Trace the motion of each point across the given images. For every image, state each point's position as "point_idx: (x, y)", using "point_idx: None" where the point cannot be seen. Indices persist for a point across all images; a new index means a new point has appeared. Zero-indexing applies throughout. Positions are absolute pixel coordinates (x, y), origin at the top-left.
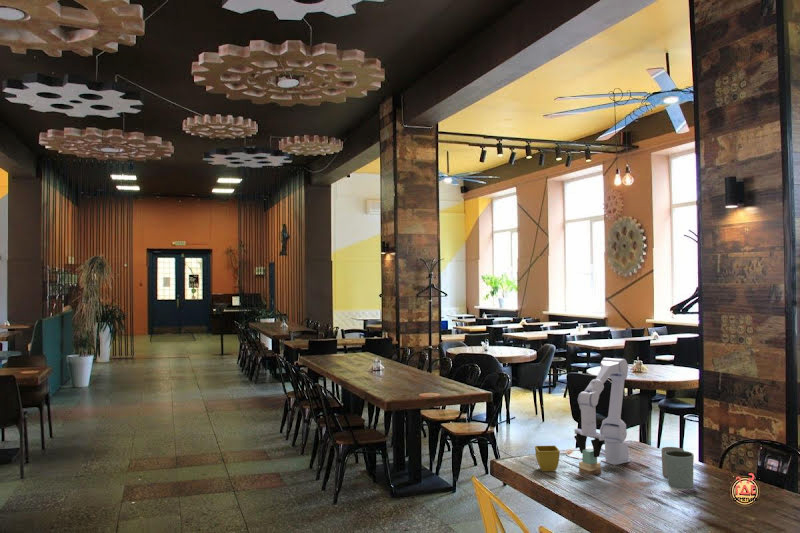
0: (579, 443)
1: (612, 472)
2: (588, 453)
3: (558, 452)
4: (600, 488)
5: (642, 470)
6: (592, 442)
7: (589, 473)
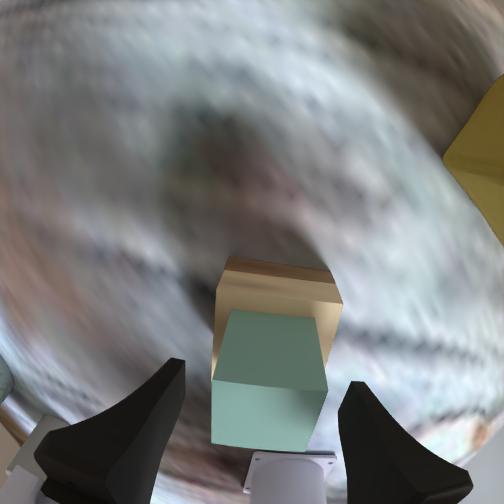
0: (387, 443)
1: (185, 377)
2: (236, 368)
3: (500, 158)
4: (43, 104)
5: None
6: (97, 452)
7: (231, 261)
